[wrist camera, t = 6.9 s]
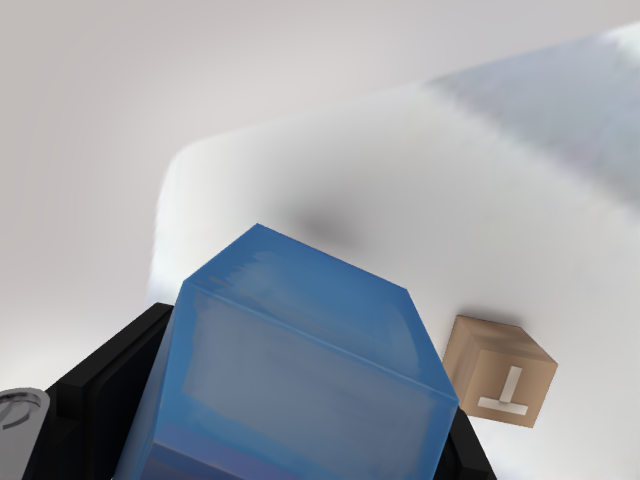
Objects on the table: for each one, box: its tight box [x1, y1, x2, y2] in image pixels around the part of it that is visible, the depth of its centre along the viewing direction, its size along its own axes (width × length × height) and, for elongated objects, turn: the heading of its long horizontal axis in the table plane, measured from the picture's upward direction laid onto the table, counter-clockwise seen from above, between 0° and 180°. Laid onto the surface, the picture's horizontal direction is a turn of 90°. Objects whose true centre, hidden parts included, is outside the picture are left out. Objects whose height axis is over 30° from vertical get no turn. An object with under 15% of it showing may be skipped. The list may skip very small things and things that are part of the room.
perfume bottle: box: [112, 223, 460, 480], centre depth 8 cm, size 6×6×12 cm
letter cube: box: [442, 315, 558, 428], centre depth 25 cm, size 5×5×5 cm
